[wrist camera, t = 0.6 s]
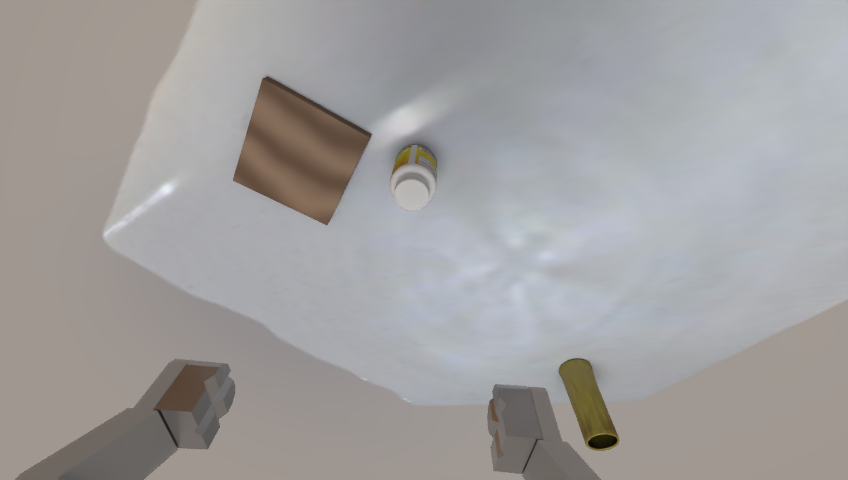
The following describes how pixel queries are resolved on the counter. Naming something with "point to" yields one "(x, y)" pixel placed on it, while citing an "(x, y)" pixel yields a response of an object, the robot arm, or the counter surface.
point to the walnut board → (298, 152)
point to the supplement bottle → (414, 177)
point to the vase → (588, 405)
